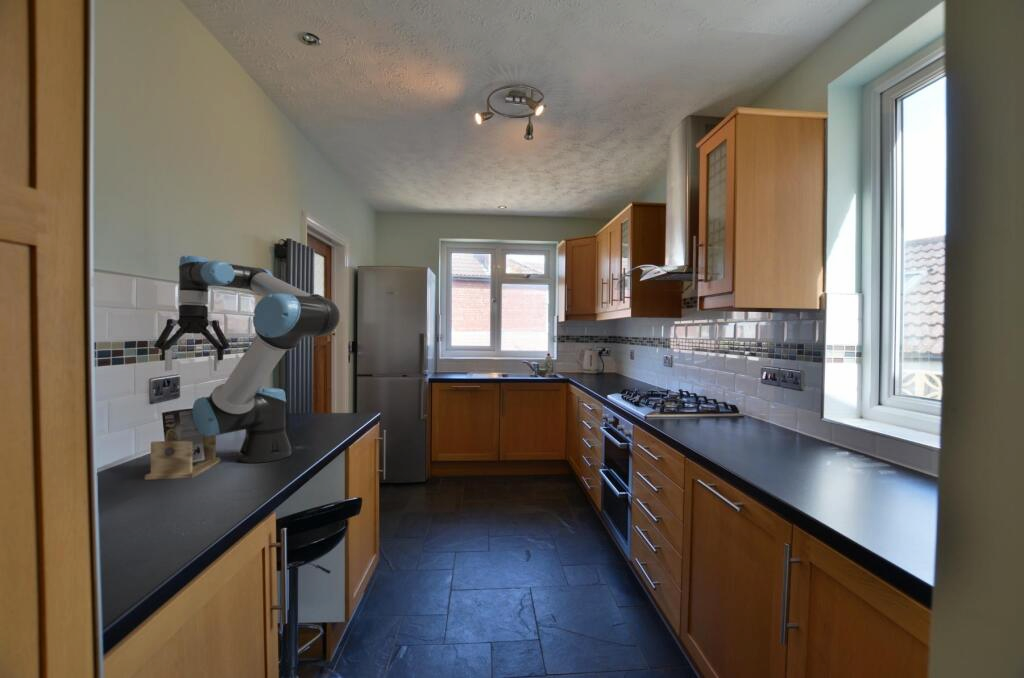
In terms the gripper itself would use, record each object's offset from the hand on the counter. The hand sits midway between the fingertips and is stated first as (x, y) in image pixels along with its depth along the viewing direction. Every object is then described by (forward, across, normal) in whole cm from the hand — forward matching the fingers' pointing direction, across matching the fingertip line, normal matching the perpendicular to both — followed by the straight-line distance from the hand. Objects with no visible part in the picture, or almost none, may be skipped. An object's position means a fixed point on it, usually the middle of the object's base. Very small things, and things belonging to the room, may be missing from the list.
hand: (192, 370), depth 140 cm
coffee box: (+27, -3, +12) cm, 29 cm away
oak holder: (+29, -3, +12) cm, 31 cm away
